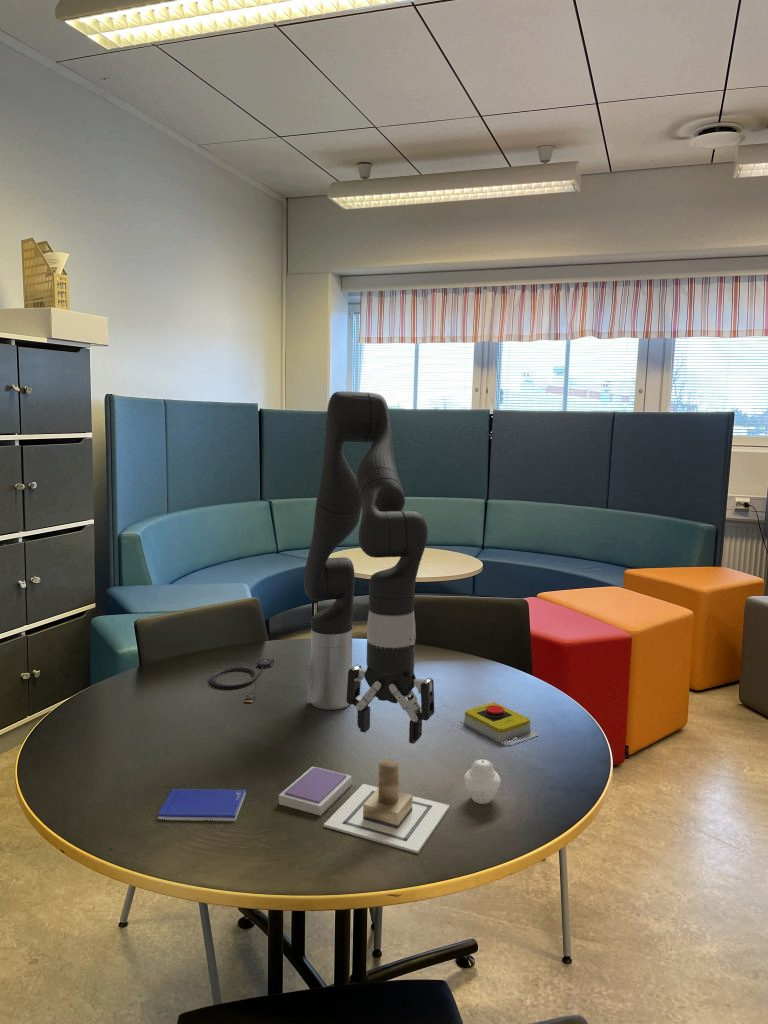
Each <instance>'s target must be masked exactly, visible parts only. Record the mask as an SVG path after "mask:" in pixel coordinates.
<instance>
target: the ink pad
mask: <svg viewBox="0 0 768 1024" xmlns="http://www.w3.org/2000/svg"><path fill="white" fill-rule="evenodd" d="M352 784H353V776H352V775H349V774H345V773H341V772H337V771H333V770H328V769H325V768H321V767H317V766H311V767H310V768H308V770H307V771H305V772H304V773H303V774H302V775H300V777H298V778H297V779H296V780H294V781H293V782H292V783H291V784H290V785H288V787H287V788H285V789H284V790H283V791H281V793H279V794H278V804H279V805H280V806H284V807H287V808H288V807H289V808H290V809H291V808H292V809H295V810H300V811H302V812H305V813H311V814H314V815H317V816H322V815H323V814H324V813H325V812H326V811H327V810H328V809H329V808H330V807H331V806H332V805H333V804H334V803H335V802H336V801H337V800H338V799H339V798H341V796H342V795H343V794H344V793H345V792H347V790H348V789H349V788H350V787H351V786H352Z"/></svg>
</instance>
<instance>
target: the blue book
mask: <svg viewBox="0 0 768 1024" xmlns="http://www.w3.org/2000/svg"><path fill="white" fill-rule="evenodd" d="M246 792H247V791H246V789H206V788H205V789H203V788H201V789H199V788H196V789H193V788H173V789H172V790H171V791H170V793H169V795H168V797H167V798H166V800H165V802H164V803H163V805H162V806H161V809H160V810H159V812H158V814H157V820H158V819H161V820H162V819H163V820H162V821H200V822H201V821H203V820H205V821H206V820H208V821H209V820H211V821H212V820H213V821H214V822H215V821H216V822H220V821H221V822H236V821H237V818H238V816H239V813H240V810H241V807H242V806H243V802H244V801H245V797H246V794H247V793H246ZM164 819H165V820H164ZM161 820H160V821H161ZM205 821H204V822H205ZM211 821H209V822H211Z"/></svg>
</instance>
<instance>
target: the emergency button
mask: <svg viewBox="0 0 768 1024" xmlns="http://www.w3.org/2000/svg"><path fill="white" fill-rule="evenodd" d="M459 722H460V723H461V722H462V723H461V724H463V723H464V725H465V724H466V725H465V726H467V727H469V728H471V729H472V730H474V731H476V730H477V732H478V731H479V732H478V733H480V732H481V734H482V735H484V736H486V737H488V738H490V739H492V740H493V739H494V741H495V740H496V742H497V741H498V743H499V741H500V744H501V743H503V744H504V743H506V742H507V741H509V740H510V741H511V740H513V738H515V737H517V740H518V739H520V738H521V739H523V738H524V737H525V738H526V739H525V738H524V739H525V740H527V738H529V737H530V736H531V737H532V739H534V738H533V737H535V736H536V735H537V737H539V734H538V733H537V732H535V731H533V730H532V729H531V718H529V717H527V716H525V715H523V714H521V713H519V712H516V711H514V710H512V709H510V708H509V707H506V706H504V705H501V704H500V703H498V702H489V703H485V704H483V705H479V706H476V707H473V708H469V709H466V710H465V711H464V717H463V718H461V719H459ZM534 732H535V733H534ZM531 737H530V738H531ZM535 738H536V737H535ZM521 739H520V740H521ZM506 740H507V741H506ZM514 740H516V739H514ZM514 740H513V741H514ZM525 740H524V742H526V741H525ZM502 741H503V742H502ZM504 741H506V742H504ZM521 741H523V740H521ZM521 741H520V742H521ZM527 741H528V740H527ZM518 742H519V741H518ZM508 743H509V742H508ZM511 743H512V742H511ZM516 743H517V742H516ZM521 743H522V742H521ZM503 744H502V745H503ZM505 745H507V743H506V744H505ZM505 745H504V746H505ZM508 745H510V743H509V744H508Z"/></svg>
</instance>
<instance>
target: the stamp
mask: <svg viewBox="0 0 768 1024" xmlns="http://www.w3.org/2000/svg"><path fill="white" fill-rule="evenodd" d="M399 766H400V764H399V762H398V761H396V760H393V759H384V760H381V761H380V762H378V789H377V790H376V791H375V792H374V793H373V794H372V795H371V796H370V798H369V799H368V800H367V801H366V802H365V803H364V804H363V820H367V821H371V822H374V823H378V824H382V825H385V826H389V827H393V828H396V829H398V828H399V827H400V825H401V824H402V823H403V821H404V820H405V819H406V818H407V816H408V815H409V814H410V812H411V811H412V801H413V794H410V793H406V792H402V791H399V772H400V767H399Z"/></svg>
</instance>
